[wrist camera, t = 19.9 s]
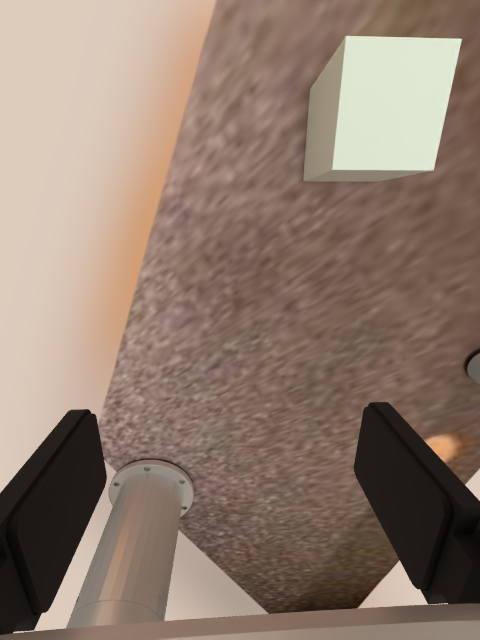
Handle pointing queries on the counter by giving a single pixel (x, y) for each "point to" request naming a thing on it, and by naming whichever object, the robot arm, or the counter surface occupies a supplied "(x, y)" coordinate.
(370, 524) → the counter surface
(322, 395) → the counter surface
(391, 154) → the pale sage cube
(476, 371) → the reed diffuser
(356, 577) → the counter surface
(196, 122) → the counter surface
